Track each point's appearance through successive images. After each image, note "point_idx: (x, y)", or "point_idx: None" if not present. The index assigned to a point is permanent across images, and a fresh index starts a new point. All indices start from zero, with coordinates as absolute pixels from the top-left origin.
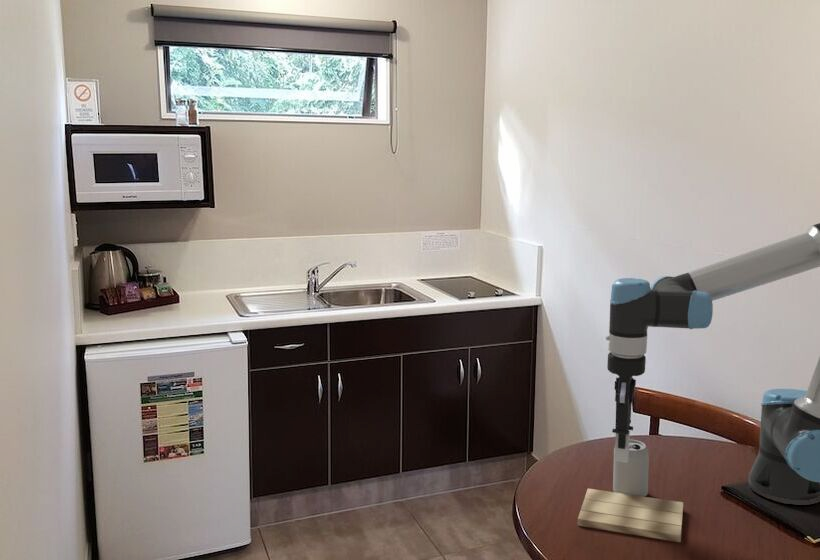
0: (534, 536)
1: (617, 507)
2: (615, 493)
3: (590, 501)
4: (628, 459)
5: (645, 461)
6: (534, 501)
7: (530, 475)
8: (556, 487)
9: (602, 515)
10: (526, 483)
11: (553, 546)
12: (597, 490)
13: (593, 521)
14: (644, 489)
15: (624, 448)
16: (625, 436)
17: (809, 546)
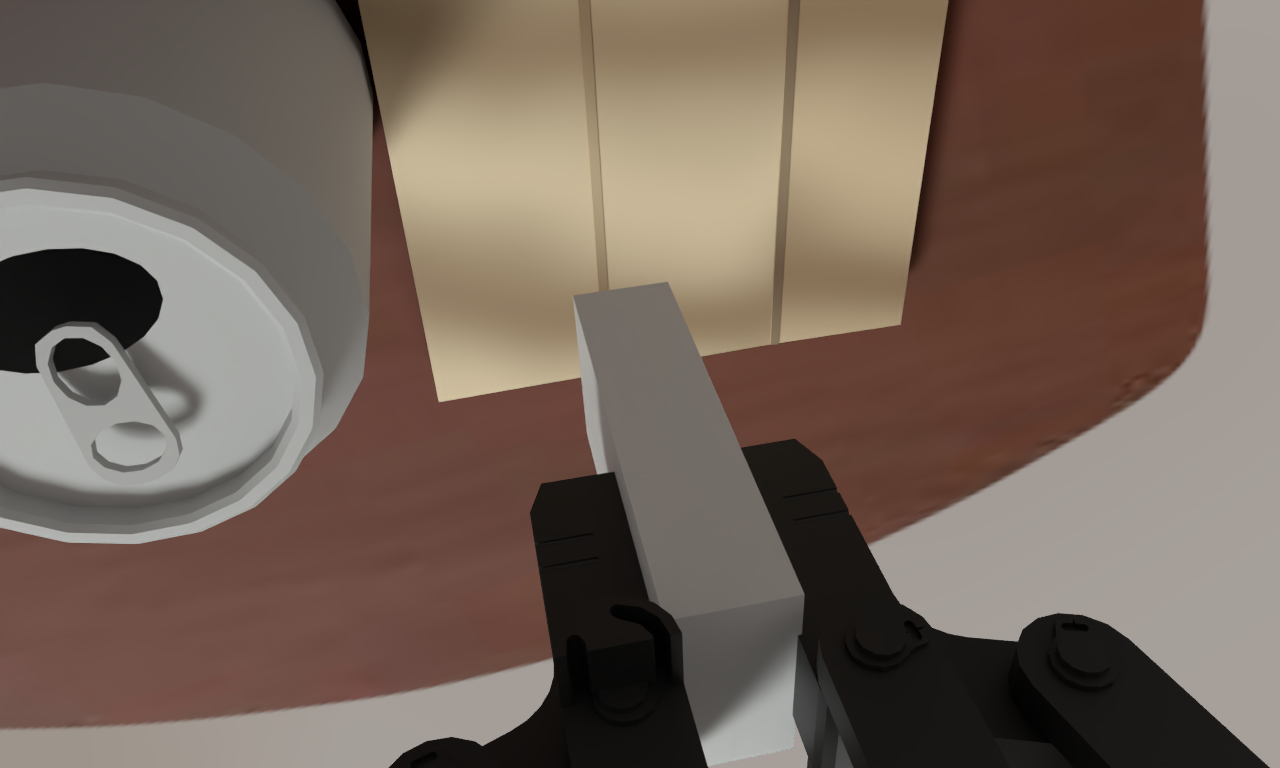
0: (1045, 442)
1: (657, 124)
2: (418, 199)
3: None
4: (367, 292)
5: (189, 79)
6: None
7: (327, 701)
8: (409, 549)
9: (817, 195)
10: (448, 677)
11: (1138, 335)
12: (437, 335)
13: (913, 227)
14: None
15: (799, 448)
16: (865, 594)
17: None
